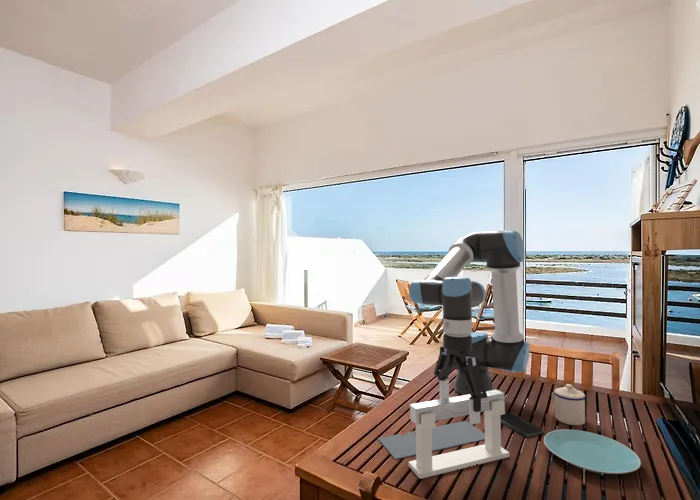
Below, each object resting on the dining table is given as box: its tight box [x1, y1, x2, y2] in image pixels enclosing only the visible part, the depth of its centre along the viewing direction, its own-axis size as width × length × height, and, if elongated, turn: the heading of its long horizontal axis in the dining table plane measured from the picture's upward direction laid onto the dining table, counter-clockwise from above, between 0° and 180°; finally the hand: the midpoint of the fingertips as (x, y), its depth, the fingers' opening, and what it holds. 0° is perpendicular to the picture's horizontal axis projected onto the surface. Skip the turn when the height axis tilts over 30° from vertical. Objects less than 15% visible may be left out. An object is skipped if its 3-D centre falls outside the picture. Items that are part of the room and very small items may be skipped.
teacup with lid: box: [551, 383, 587, 426], centre depth 125 cm, size 12×9×12 cm
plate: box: [543, 428, 642, 475], centre depth 102 cm, size 22×22×3 cm
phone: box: [500, 411, 545, 438], centre depth 121 cm, size 8×1×15 cm
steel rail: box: [409, 389, 505, 425], centre depth 101 cm, size 3×28×4 cm, turn 109°
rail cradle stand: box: [408, 400, 510, 480], centre depth 101 cm, size 6×28×16 cm, turn 109°
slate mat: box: [377, 420, 485, 461], centre depth 113 cm, size 12×32×1 cm, turn 109°
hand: (458, 412), depth 101 cm, fingers open, 13 cm apart
